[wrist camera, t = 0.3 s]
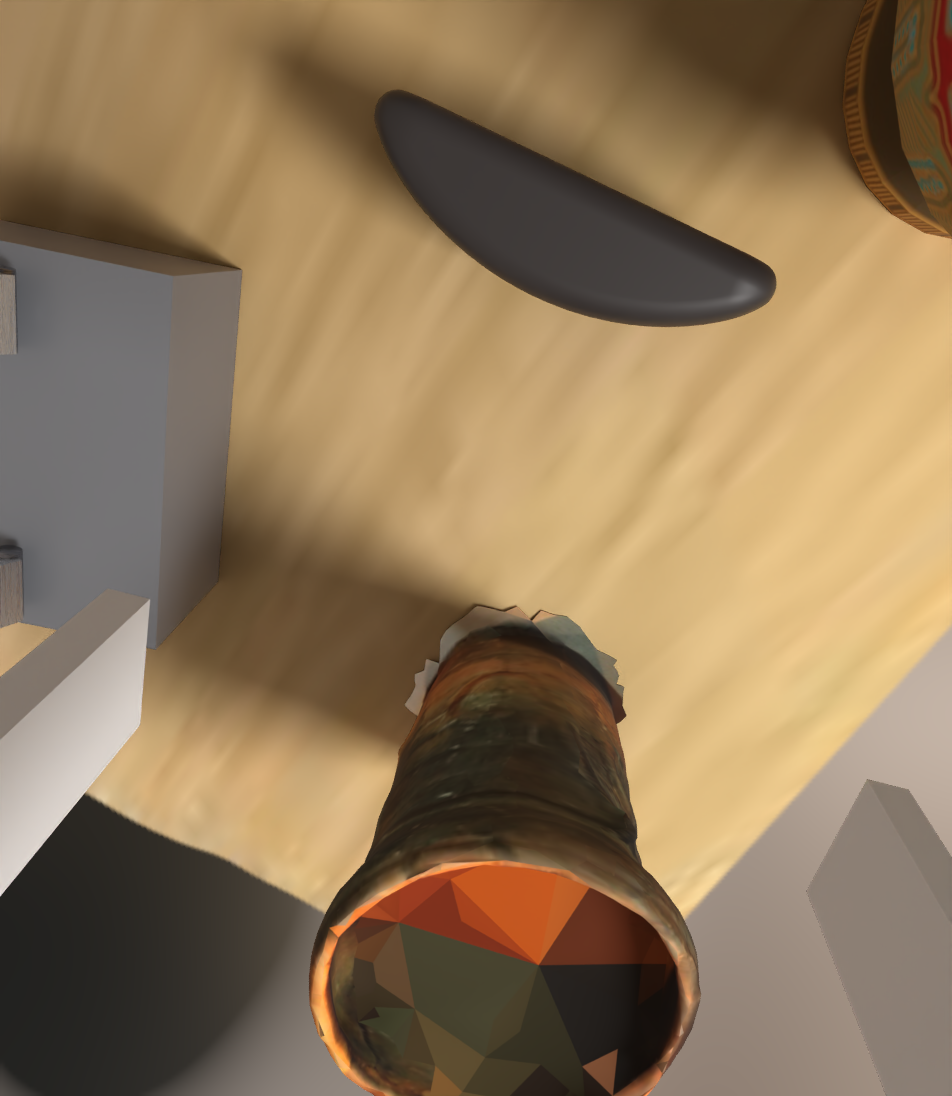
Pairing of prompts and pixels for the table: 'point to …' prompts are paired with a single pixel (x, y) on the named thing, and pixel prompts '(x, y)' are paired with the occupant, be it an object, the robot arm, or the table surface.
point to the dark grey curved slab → (563, 226)
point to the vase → (903, 108)
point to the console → (115, 424)
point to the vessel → (507, 889)
